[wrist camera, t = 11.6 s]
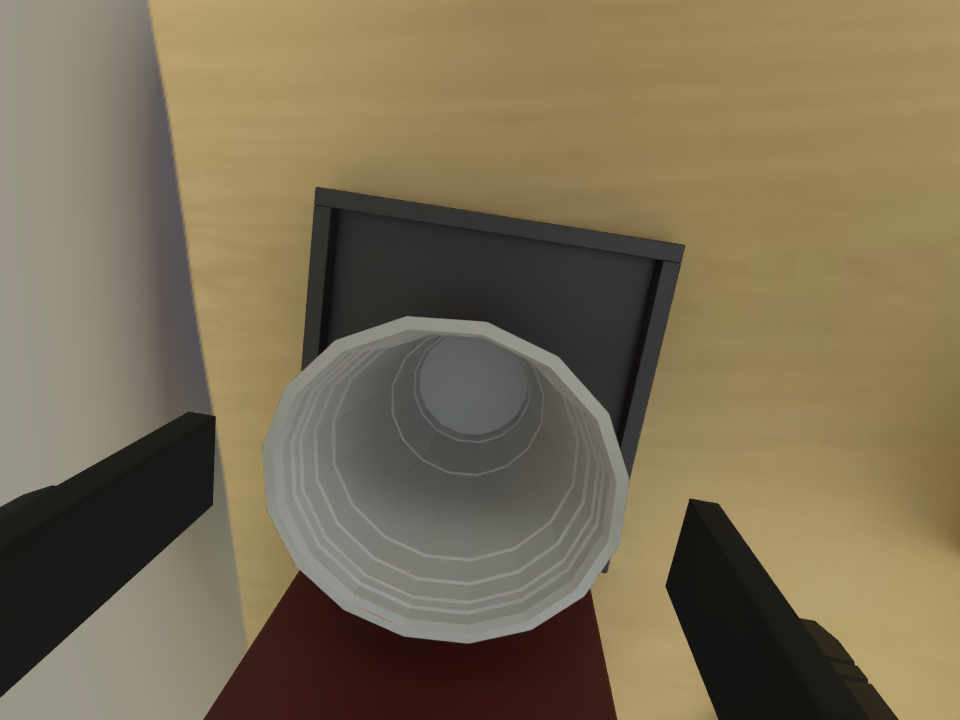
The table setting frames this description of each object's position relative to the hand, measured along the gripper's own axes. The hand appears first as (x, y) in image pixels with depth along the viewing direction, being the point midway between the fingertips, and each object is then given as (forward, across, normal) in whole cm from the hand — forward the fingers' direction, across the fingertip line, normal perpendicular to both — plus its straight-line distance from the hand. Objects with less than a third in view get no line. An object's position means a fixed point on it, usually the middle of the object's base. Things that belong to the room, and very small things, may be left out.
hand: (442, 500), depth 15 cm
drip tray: (+13, 0, 0) cm, 13 cm away
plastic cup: (+13, 0, -1) cm, 13 cm away
